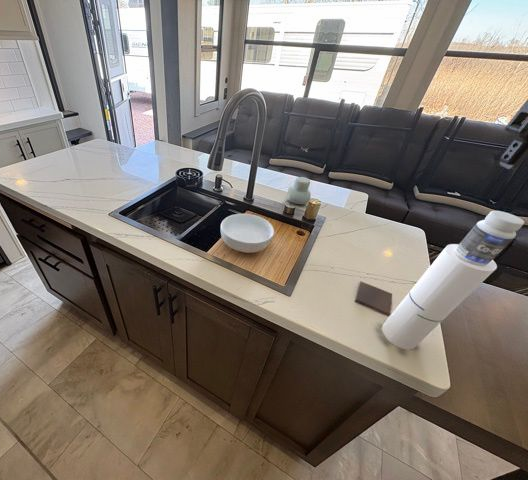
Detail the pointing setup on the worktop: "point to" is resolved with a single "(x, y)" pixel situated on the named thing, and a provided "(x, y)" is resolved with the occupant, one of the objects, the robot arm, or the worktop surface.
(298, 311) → the worktop surface
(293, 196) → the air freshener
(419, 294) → the cylindrical container
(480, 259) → the pill bottle
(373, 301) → the plate
